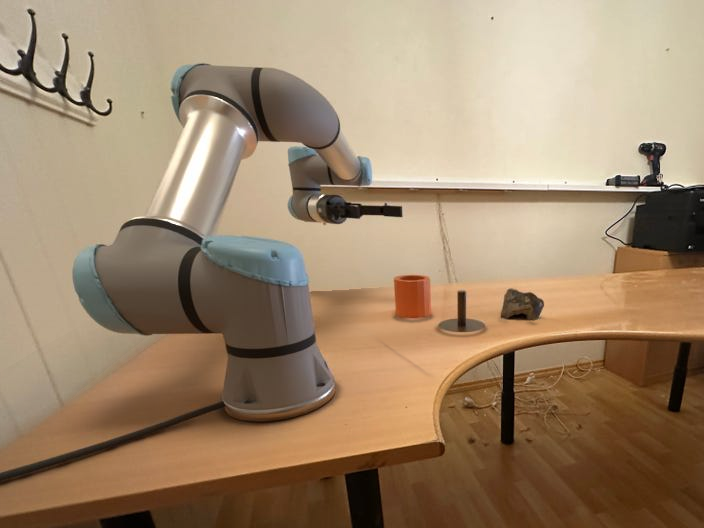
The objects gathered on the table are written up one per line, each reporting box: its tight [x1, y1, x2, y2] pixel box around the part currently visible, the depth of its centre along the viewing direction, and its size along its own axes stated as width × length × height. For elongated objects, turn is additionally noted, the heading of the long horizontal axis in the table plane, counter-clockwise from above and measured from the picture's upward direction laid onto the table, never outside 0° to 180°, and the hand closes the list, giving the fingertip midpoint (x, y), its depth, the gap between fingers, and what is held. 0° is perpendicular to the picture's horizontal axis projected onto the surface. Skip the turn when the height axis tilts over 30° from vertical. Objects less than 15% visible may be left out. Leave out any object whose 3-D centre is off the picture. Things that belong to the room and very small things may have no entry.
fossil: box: [500, 288, 545, 321], centre depth 102 cm, size 11×9×10 cm
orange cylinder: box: [393, 274, 432, 319], centre depth 101 cm, size 9×9×10 cm
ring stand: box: [438, 289, 486, 333], centre depth 93 cm, size 11×11×9 cm
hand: (381, 212), depth 99 cm, fingers open, 13 cm apart
